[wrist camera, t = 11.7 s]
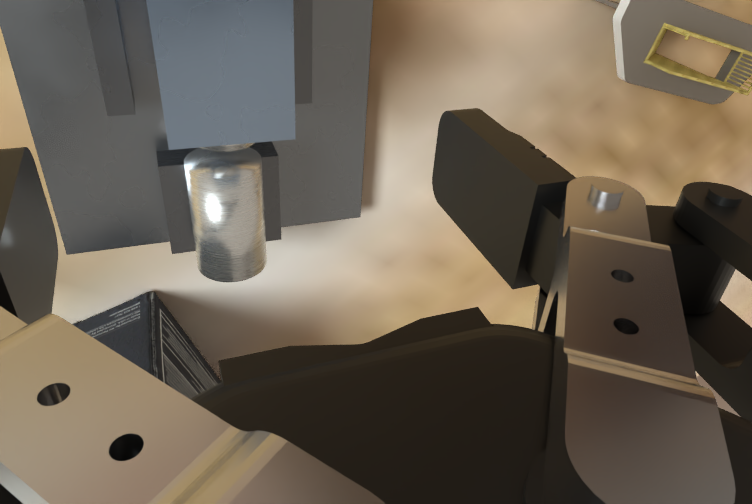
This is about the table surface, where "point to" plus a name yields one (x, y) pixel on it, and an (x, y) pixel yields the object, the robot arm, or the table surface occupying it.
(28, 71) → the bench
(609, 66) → the table surface
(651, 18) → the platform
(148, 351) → the small box
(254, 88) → the block with round knob
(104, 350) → the robot arm
